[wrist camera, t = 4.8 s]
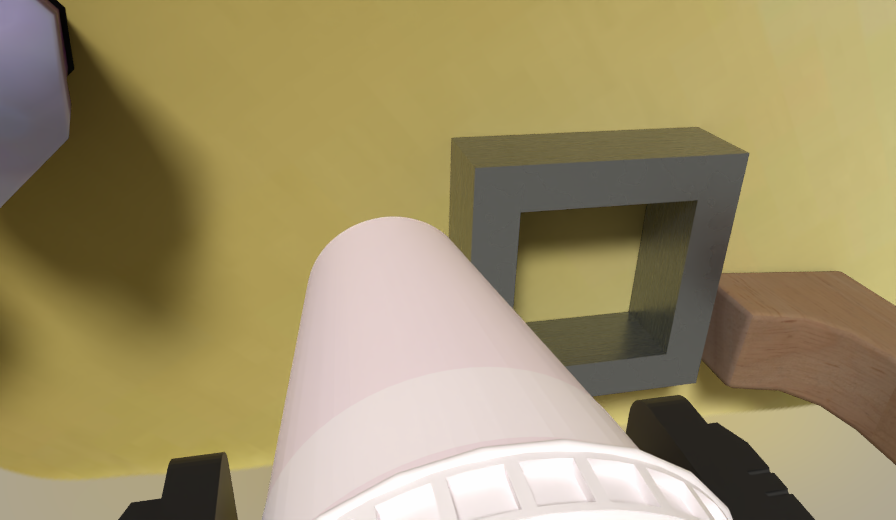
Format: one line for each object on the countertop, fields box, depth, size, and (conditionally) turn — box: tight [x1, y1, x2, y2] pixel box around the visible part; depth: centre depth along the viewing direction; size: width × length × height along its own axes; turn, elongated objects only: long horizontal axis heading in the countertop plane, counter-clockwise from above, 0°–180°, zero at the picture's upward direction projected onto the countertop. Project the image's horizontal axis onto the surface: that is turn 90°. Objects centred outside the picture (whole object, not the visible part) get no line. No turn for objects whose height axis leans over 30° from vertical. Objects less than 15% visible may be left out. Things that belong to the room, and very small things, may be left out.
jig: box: [449, 127, 749, 396], centre depth 32 cm, size 12×12×4 cm
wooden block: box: [701, 271, 896, 465], centre depth 30 cm, size 9×4×18 cm, turn 85°
